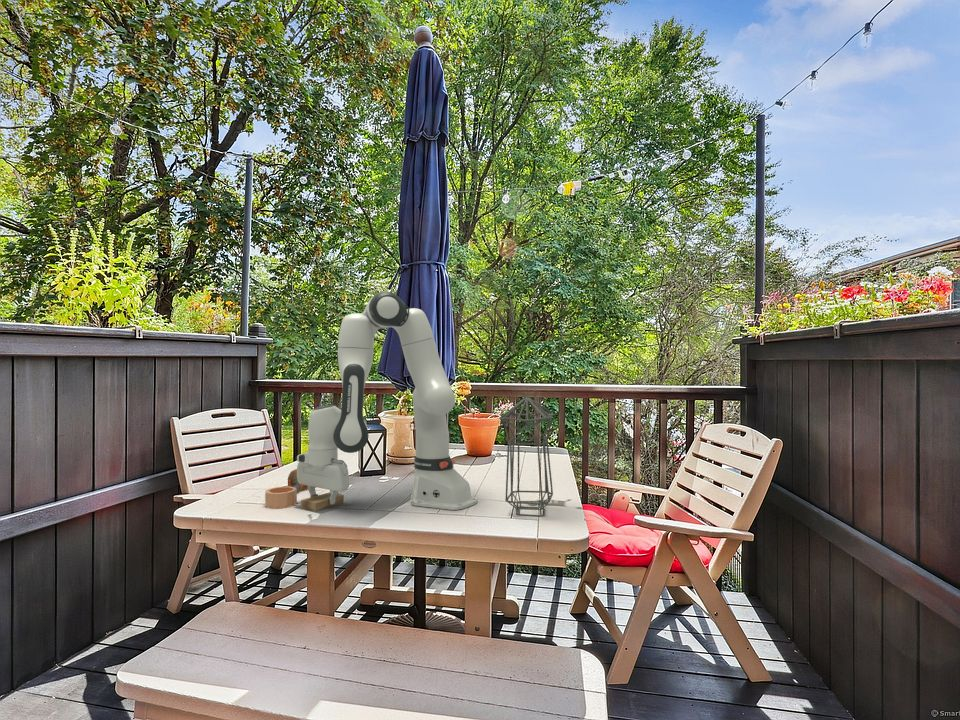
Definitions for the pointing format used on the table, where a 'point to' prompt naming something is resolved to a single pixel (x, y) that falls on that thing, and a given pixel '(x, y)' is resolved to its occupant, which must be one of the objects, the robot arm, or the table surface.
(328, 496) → the cover board
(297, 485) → the brown mottled rounded slab
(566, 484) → the table surface
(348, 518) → the table surface
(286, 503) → the bowl
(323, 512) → the mat
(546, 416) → the geometric lantern
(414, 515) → the table surface
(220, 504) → the table surface
